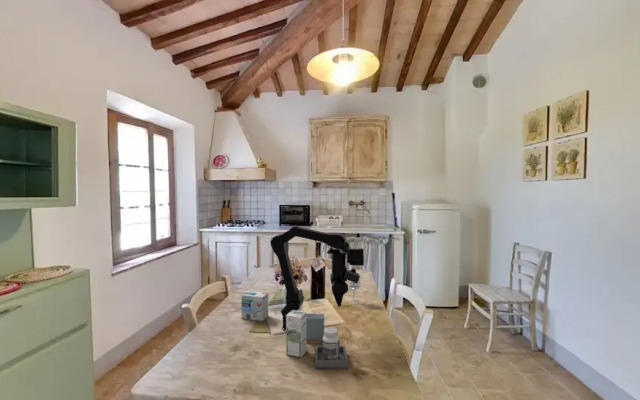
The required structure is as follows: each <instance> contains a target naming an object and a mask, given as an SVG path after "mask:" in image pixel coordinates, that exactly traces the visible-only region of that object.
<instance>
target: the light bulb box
mask: <svg viewBox="0 0 640 400" xmlns="http://www.w3.org/2000/svg"><path fill="white" fill-rule="evenodd" d="M240 306H241V311H240V312H241V316H240V317H241V319H244V320H245V319H246V320H253V321H260V322H262V321H264V320H265V319H266V318H267V317H268V316H269V292H262V291H253V290H247V291H246V292H245V293H243V294H241V305H240Z"/></svg>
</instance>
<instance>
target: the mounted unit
mask: <svg viewBox="0 0 640 400" xmlns="http://www.w3.org/2000/svg"><path fill="white" fill-rule="evenodd" d="M306 317H307V318H306V344H323V336H324V335H325V334H324V329H325V313H306Z"/></svg>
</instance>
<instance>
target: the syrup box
mask: <svg viewBox="0 0 640 400" xmlns="http://www.w3.org/2000/svg"><path fill="white" fill-rule="evenodd" d="M306 314H307V312H306V311H303V310H298V311H296V310H292V311H290V312H289V313H288V314H287V315H286V330H285V333H286V336H285V338H286V340H285V342H286V350H285V352H286V353H285V354H286V356H289V357H296V358H302V357H303V356H304V354H305V353H306V352H307V350H308V349H307V348H308V347H307V343H306V318H307V317H306Z"/></svg>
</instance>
